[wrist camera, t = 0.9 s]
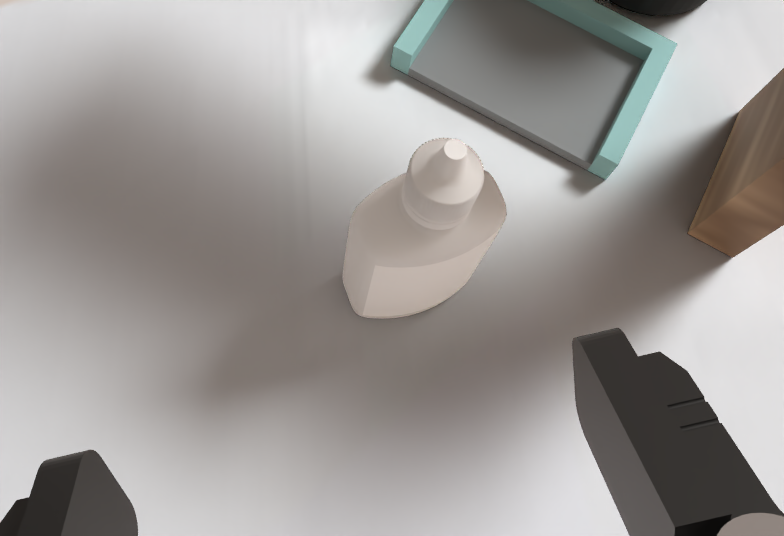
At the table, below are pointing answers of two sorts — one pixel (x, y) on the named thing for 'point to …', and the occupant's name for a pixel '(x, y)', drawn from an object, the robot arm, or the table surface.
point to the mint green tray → (541, 70)
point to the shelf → (747, 177)
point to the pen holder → (659, 6)
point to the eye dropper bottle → (422, 232)
